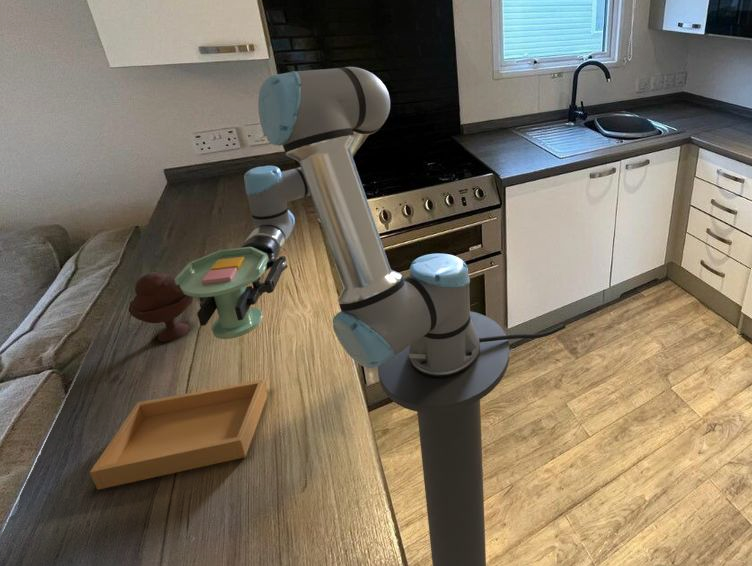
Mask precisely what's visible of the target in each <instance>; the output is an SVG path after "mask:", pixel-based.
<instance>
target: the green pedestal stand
mask: <svg viewBox="0 0 752 566" xmlns="http://www.w3.org/2000/svg"><path fill="white" fill-rule="evenodd" d="M237 257H244V259H245V260H244V262H243V263H242V265H241V266H240V268H239V269H237V273H236V274H235V276H234V277H233V279H232V280H231V281H225V282H217V283H209V284H202V279H203V278H204V277H205V276H206V274H207V273H208V272H209V271H211V268H212V266H213V265H214V264H215V262H216V261H217V260H219V259H228V258H237ZM268 260H269V259H268V255H267V254H266V253H264V252H262V251H260V250H258V249H256V248H253V247H244V248H241V247H235V248H227V249H219V250H216V251H215V252H212V253H209V254H207V255H205V256H202V257H200V258H197V259H195V260H192V261H189V262H188V263H187V264H186V265H185V266H184V267H183V268H182V269H181V271H180V272H179V273H178V274H177V275H176V276H177V277H176V278H175V279H174V280H175V283H176V285H180V288H181V291H182V292H183V293H184V294H186V295H188V296H191V297H193V298H199V297H212V296H213V297H214V301H215V304H216V308H217V309H216V311H217V314H218V318H217V319H216V320H215V321H214V323H213V324H212V326H211V331H212V335H213V336H214V337H215V338H217V339H218V340H219V339H220V340H231V339H236V338H239V337H242V336H244V335H246V334H249V333H250V332H252V331H254V330H255V329H256V328H258V327H259V326H260V324H261V323H262V321H263V317H264V316H263V312H262V310H261V309H259V308H258V307H255V306H252V305H251V306H250V307H249V309H248V311H247V313H246V315H245V317H244V319H243V320H238V318H237V314H236V310H235V307H236V305H237V303H238V302H239V300H240V298H241V296H242V295H243V293H244V291H245V290H246V288H247V287H248V286H250V285H251V284H252V282H254V281H255V280H257V279H258V278H259V277H260V276H261V275H262V274H263V273H265V272H266V271H265V270H266V267H267V264H266V263H267V262H268ZM263 275H264V274H263Z"/></svg>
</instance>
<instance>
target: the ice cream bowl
mask: <svg viewBox="0 0 752 566" xmlns="http://www.w3.org/2000/svg"><path fill="white" fill-rule="evenodd" d="M177 276H178V275H174V274H172V275H171V274H170V275H166V274H165V273H162V272H155V271H154V272H153V271H152V272H149V273H146V274H144V275H142V276H141V277H140V278H139V279H138V280H137V281H136V284H135V288H134V292H135V296H134V297H133V299H132V300H130V302H129V306H128V312H129V314H130V315H131V316H132V318H135V319H136V320H139V321H142V322H145V323H148V324H160V323H164V324H165V327H164V328H162V329H161V331H159V332H158V335H157V336H158V337H157V340H158V341H160V342H163V343H164V342H169V341H175V340H176V339H179V338H181V337H183V336H184V335H186V333H188V332H189V330H190V329H189V328H190V325H189V324H187V323H184V322H176V318H178V317H179V316H181V315H182V314H183V313H184V312H185V311H187V310H188V308H189V307H190V306H191V305H192V303H193V299H194V297H191V296H188V295H186V294H184V293H183V292H182V291H181V288H180V285H176V283H175V280H174V279H175V278H176V277H177Z"/></svg>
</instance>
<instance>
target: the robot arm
mask: <svg viewBox="0 0 752 566" xmlns="http://www.w3.org/2000/svg"><path fill="white" fill-rule="evenodd" d="M257 99H258V100H257V109H258V119H259V122H260V127H261V130H262V133H263V135H264V136H265V137H266V140H267V141H268V142H269V143H270V144H271V145H273V146H277V147H279V146H282V148H283V150H284V153H285V155H286V157H289V158H291V159H292V160H295V161H297V162H298V163H299V167H296V168H292V169H287V170H283V171H281V169H280V168H279V167H278V166H275V165H265V166H256V167H253V168H251V169H249V170H247V171H245V173H244V175H243V180H244V181H243V182H244V188H245V194H246V198H247V201H248V205H249V210H250V213H251V219H252V224H253V229H252V231H251V232H250V233H249V235H248V236H247V237H246V239H245V240H244V242H243V243H242V245H241V246H240V248H244V247H253V248H256V249H258V250H260V251H262V252H264V253H266V254H267V255H268V259H269V260H268V262H267V263H266V264H267V267H266V270H265V272H266V271H267V272H268V274H267V275H266V278H265V279H264V273H265V272H264V273H263V274H262V275H261V276H260V277H259V278H258V279H257V280H255V281H254V282H252V283H251V284H252V285H247V286H246V290H245V291H244V293H243V295H242V296H241V298H240V300H239V302H238V303H237V305H236V307H235V310H236V314H237V318H238V320H243V319H244V317H245V315H246V313H247V311H248V309H249V307H250V306H251V307H252V306H253V305H255V304H257V303H258V300H259V298H260V296H262V295H263V294H264V293H267V294H272V293H274V291H275V289H276V287H277V284H278V282H279V280H280V278H281V275H282V273H283V272H284V271H285V270H286V269H287V268H288V262H287V256H285V255H282V256H280V254H281V252H282V250H283V248H284V246H285V245H286V243H287V241H288V239H289V237H290V236H291V235H292V233H293V229H294V227H295V225H296V224H295V223H296V219H295V216H294V214H293V213H292V212H291V211H290V210H289V208H288V203H290V202H293V201H296V200H300V199H302V198H306V197H309V196H310V197H311V201H312V203H313V206H314V209H315V212H316V214H317V216H318V217H317V218H318V221H319V223H320V226H321V228H322V231H323V235H324V237H325V240H326V243H327V246H328V249H329V251H330V255H331V257H332V260H333V262H334V265H335V268H336V271H337V274H338V277H339V279H340V282H341V285H342V291H341V292H340V294H339V296H338V298H337V303H338V305H339V308H340V311H339V312H337V313H336V315H334V316H333V318H332V328H333V332H334V334H335V337H336V338H337V340H338V342H339V344H340V345H341V346H342V348H343V350H344V351H345V352H346V354H347V355H348V356H350V358H351V359H352V360H353V361H355V362H356V363H357V364H358V365H360V366H361V367H364V368H367V369H375V368H378V366H379V365H381V364H382V363H384V362H386V361H387V360H389V359H392V358H394V357H395V355H397V354H398V353H400V352H401V351H403V350H404V349H406V348H407V347H408V346H410V349H409V358H410V362H411V365H412V367H413V368H414V370H415V371H416V372H418V373H419V374H421V375H423V376H425V377H429V378H435V379H443V378H449V377H453V376H456V375H459V374H461V373H463V372H464V371H466V370H467V369H469V368H470V367H471V366H472V365H473V364H474V363H475V361H476V360H477V358H478V356H479V353H480V342H488V341H498V340H507V339H508V340H516V339H517V340H519V339H520V340H521V339H541V338H545V337H548V336H552V335H554V334H556V333H558V332H561V331H562V330H565V329H566V324H560V325H558V326H556V327H554V328H553V329H550V330H548V331H544V332H539V333H516V334H506V335H504V336H494V337H484V338H479V337H478V334H477V332H476V330H475V327H474V325H473V323H472V321H471V318H470V311H471V295H470V294H471V290H470V289H471V287H470V283H471V278H470V277H469V268H468V265H467V264H466V262H465V261H464V260H463V259H462V258H460V257H458V256H457V255H456V256H455V255H453V254H448V253H429V254H424V255H421V256H419V257H417V258H415V259H414V260H413V261H412V262H411V264H410V268H409V270H408V271H409V275H408V276H406V277H404V276H403V275H402V273H400V272H398V271H395V270H393V269H392V268H391V265H390V263H389V260H388V257H387V254H386V250H385V247H384V245H383V242H382V240H381V236H380V233H379V230H378V228H377V224H376V221H375V219H374V216H373V213H372V210H371V207H370V204H369V202H368V198H367V195H366V192H365V189H364V186H363V183H362V180H361V177H360V175H359V171H358V168H357V166H356V163H355V160H354V156H355V154H357V152H358V151H359V149H360V148H361V146H362V145H363V144H364V143H365V141H366V139H367V138H368V137H369V136H370V135H373V134H375V133H376V132H378V131H379V130H380V129H381V128H382V126H383V125H384V124H385V122H386V121H387V119H388V117H389V114H390V110H391V98H390V94H389V91H388V89H387V87H386V85H385V84H384V83H383V81H382V80H381V79H380V78H379V77H378V76H377V75H375V74H374V73H373V72H370V71H368V70H366V69H364V68H360V67H356V66H343V67H335V68H326V69H324V68H323V69H322V68H321V69H308V70H291V71H289V72H284V73H278V74H273V75H269V76H268V77H266V78H265V79H264V80H263V82H262V83H261V85H260V88H259V92H258V98H257ZM279 256H280V257H279ZM198 299H199V302H200V303H199V307H200V308H199V309H198V311H197V312H196V314H197V318H198V322H199V325H200V327H203V326H207V324H209V323H208V322H209V321H210V320H211V318H212V317H213V315H214V313H215V312H216V311H217V308H216V304H215V301H214V297H213V296H212V297H198Z"/></svg>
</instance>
